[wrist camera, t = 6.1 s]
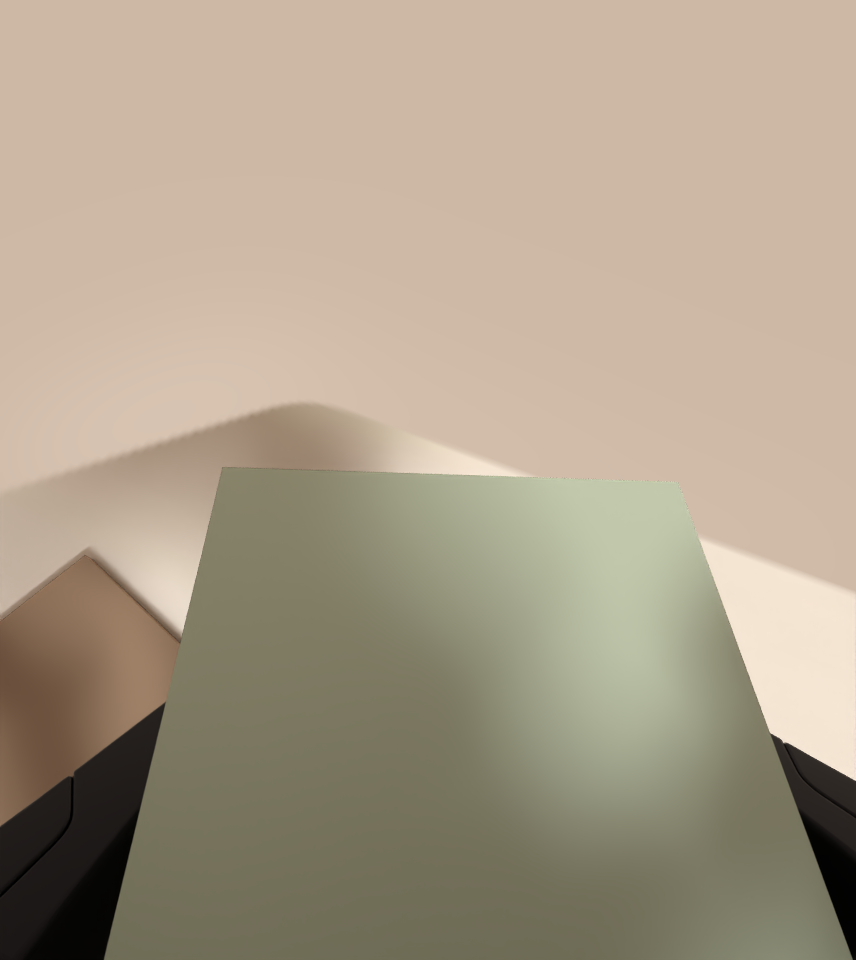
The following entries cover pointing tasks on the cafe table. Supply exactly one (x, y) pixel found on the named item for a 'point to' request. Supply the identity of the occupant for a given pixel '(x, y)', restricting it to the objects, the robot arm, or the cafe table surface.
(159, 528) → the cafe table surface
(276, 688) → the sage green block
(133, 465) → the cafe table surface
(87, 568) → the walnut board
